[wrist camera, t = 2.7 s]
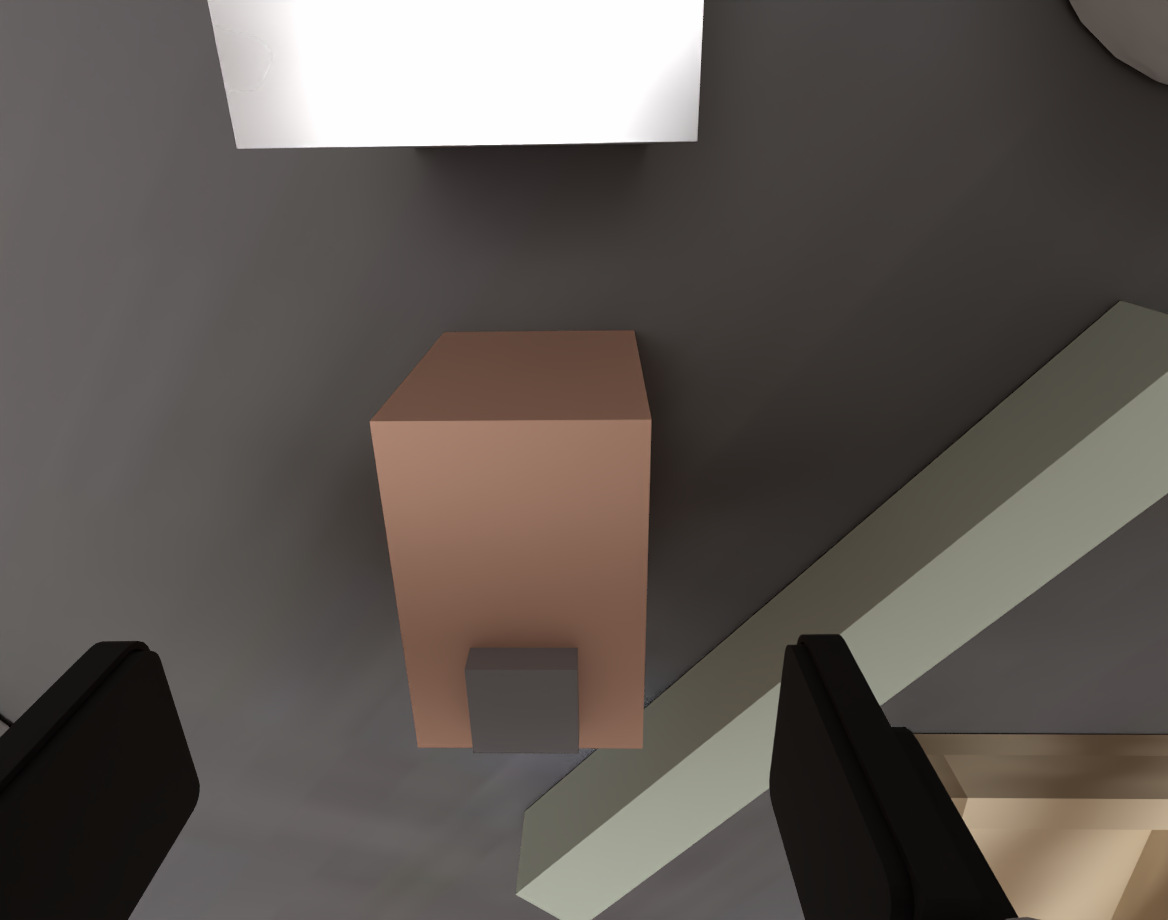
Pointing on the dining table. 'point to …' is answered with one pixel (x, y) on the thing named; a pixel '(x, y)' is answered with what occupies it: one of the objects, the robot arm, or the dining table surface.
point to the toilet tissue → (1130, 31)
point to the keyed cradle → (1065, 818)
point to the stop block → (521, 538)
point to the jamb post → (459, 72)
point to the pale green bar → (874, 607)
